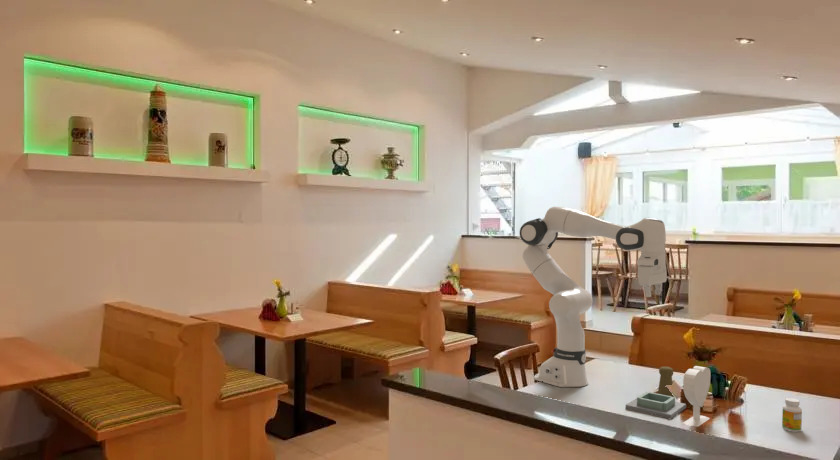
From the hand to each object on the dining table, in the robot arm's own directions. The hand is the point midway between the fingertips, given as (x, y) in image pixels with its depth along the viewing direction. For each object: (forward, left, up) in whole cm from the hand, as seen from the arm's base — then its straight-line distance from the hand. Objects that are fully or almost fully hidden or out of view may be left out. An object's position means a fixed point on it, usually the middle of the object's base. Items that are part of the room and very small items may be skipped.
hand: (653, 295), depth 230 cm
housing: (+6, -13, -39) cm, 42 cm away
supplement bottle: (+47, -4, -39) cm, 62 cm away
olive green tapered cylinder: (+3, +6, -39) cm, 40 cm away
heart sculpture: (+21, -17, -40) cm, 48 cm away
